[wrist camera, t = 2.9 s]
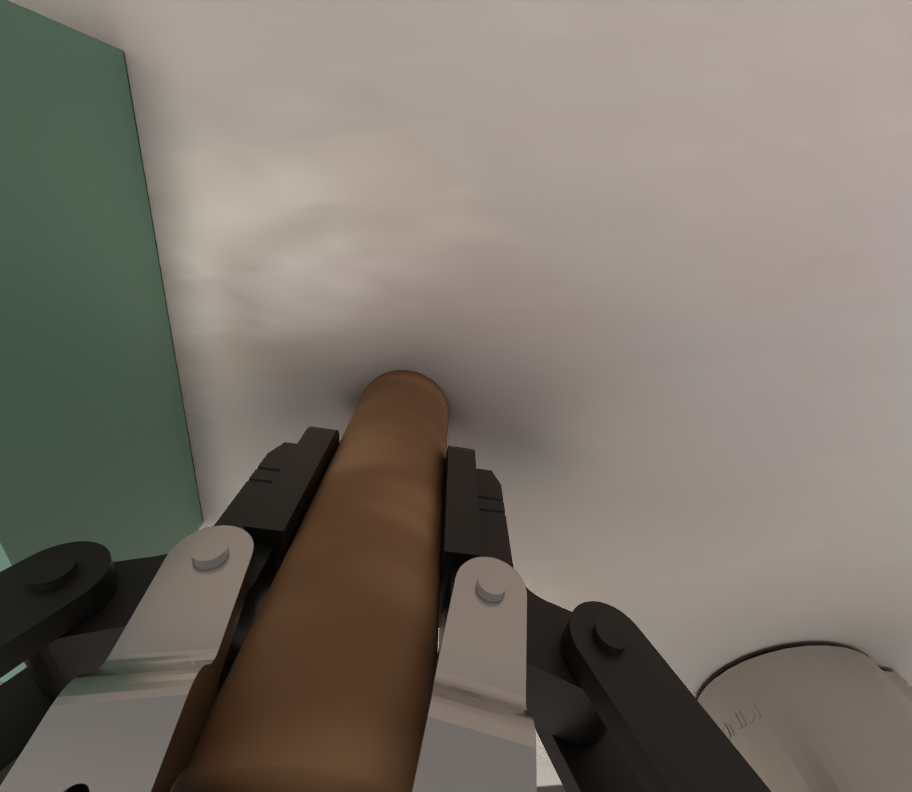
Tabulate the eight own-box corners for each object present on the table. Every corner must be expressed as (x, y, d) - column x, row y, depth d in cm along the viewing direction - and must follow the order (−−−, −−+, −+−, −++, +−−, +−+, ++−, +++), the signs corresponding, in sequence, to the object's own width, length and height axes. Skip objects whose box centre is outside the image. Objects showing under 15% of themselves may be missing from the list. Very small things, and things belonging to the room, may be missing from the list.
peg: (455, 377, 13) (447, 777, 4) (441, 452, 14) (414, 876, 5) (363, 363, 13) (140, 754, 4) (358, 440, 14) (186, 863, 5)
